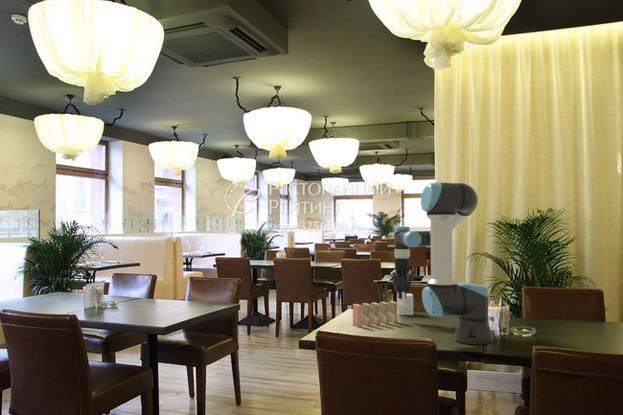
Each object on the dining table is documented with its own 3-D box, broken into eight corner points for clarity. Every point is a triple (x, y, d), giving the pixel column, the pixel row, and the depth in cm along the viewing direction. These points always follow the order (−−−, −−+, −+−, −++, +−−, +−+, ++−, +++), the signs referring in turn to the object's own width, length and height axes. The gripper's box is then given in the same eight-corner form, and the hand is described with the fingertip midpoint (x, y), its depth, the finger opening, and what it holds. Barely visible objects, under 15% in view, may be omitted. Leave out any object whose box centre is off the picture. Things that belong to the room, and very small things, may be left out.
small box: (412, 313, 270) (412, 293, 271) (413, 315, 265) (413, 295, 265) (397, 313, 271) (397, 293, 271) (398, 315, 266) (398, 295, 266)
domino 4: (383, 322, 247) (383, 301, 248) (388, 324, 243) (388, 303, 243) (379, 322, 247) (379, 302, 247) (385, 324, 242) (385, 303, 242)
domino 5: (391, 321, 249) (391, 301, 250) (397, 323, 245) (397, 302, 245) (388, 321, 249) (388, 301, 249) (393, 323, 244) (393, 302, 244)
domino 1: (356, 324, 241) (356, 303, 241) (361, 327, 237) (361, 305, 237) (352, 325, 240) (352, 304, 240) (358, 327, 236) (358, 305, 236)
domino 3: (374, 323, 245) (374, 302, 245) (379, 325, 241) (379, 304, 241) (370, 323, 244) (370, 302, 245) (376, 325, 240) (376, 304, 240)
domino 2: (365, 324, 243) (365, 303, 243) (370, 326, 239) (370, 304, 239) (361, 324, 242) (361, 303, 243) (367, 326, 238) (367, 305, 238)
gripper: (408, 256, 256) (408, 303, 255) (386, 257, 250) (386, 305, 250) (417, 257, 249) (417, 305, 249) (395, 258, 244) (395, 307, 243)
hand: (402, 305), depth 249 cm, fingers closed
